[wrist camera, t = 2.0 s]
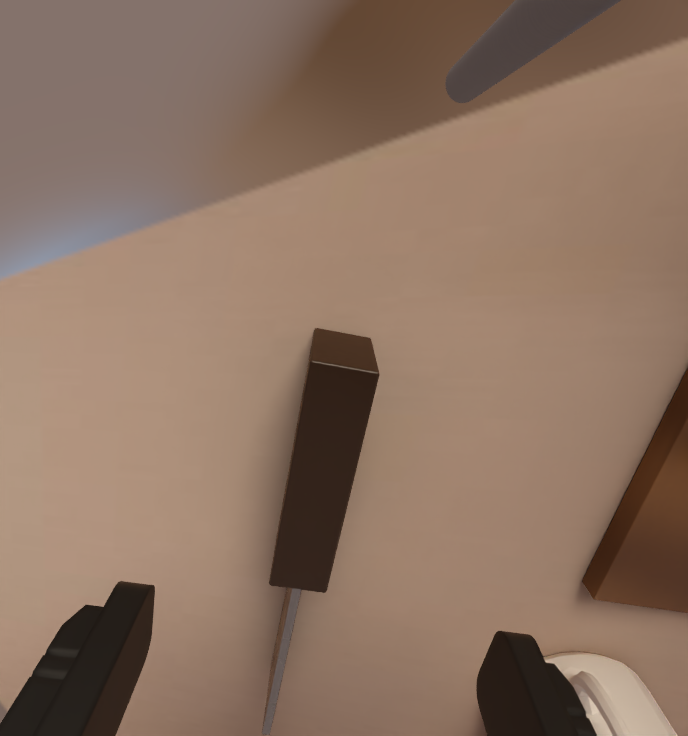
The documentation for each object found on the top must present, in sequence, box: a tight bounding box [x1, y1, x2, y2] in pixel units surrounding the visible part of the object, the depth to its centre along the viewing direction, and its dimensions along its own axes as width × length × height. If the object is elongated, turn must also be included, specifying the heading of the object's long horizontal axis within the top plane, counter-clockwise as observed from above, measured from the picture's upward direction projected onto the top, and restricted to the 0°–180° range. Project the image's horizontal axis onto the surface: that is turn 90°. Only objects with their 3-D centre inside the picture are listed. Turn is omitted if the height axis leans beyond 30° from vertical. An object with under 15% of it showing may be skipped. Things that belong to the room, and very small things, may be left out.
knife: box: [262, 328, 379, 735], centre depth 21 cm, size 20×2×4 cm, turn 169°
